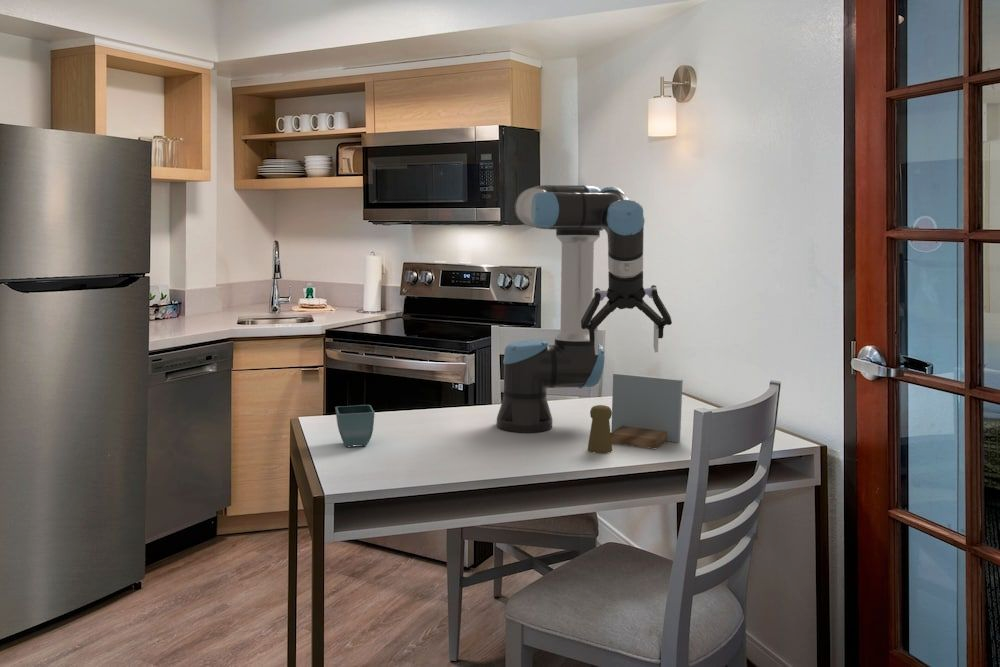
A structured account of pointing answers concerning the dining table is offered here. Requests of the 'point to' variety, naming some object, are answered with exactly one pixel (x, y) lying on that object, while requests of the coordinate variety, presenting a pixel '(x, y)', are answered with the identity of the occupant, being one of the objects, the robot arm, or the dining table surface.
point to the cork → (600, 430)
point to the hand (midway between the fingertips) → (626, 350)
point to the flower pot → (355, 424)
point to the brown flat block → (638, 436)
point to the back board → (647, 403)
